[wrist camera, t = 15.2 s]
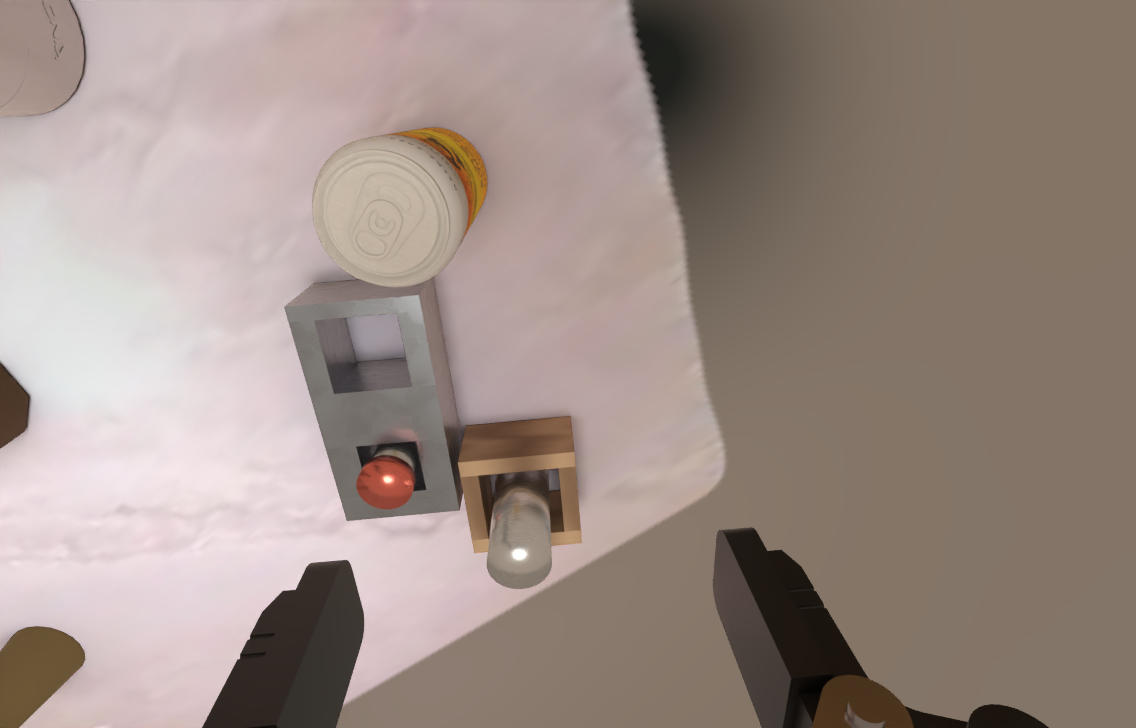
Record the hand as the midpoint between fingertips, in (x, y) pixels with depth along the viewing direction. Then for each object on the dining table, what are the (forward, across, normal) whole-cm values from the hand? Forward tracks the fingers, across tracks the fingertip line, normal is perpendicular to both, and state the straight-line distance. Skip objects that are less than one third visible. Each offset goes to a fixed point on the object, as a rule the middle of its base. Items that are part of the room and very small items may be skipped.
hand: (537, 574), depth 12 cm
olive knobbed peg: (+29, +45, +33) cm, 63 cm away
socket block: (+29, +10, +9) cm, 32 cm away
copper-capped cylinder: (+28, +10, +13) cm, 32 cm away
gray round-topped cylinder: (+28, +2, +16) cm, 33 cm away
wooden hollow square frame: (+28, +2, +17) cm, 33 cm away
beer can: (+29, +5, -5) cm, 30 cm away
